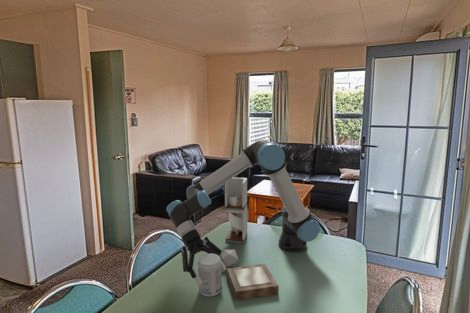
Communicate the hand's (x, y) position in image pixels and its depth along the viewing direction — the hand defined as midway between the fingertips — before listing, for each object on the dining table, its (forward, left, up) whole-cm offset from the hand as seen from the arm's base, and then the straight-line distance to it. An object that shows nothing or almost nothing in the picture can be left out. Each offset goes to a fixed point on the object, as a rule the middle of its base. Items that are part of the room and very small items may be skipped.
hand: (212, 277), depth 129 cm
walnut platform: (-17, -2, -7) cm, 18 cm away
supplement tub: (+1, -2, -7) cm, 7 cm away
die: (-11, -20, -7) cm, 24 cm away
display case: (-21, -49, -7) cm, 53 cm away
